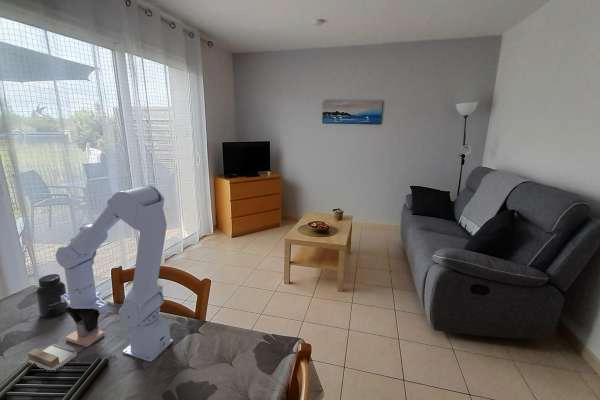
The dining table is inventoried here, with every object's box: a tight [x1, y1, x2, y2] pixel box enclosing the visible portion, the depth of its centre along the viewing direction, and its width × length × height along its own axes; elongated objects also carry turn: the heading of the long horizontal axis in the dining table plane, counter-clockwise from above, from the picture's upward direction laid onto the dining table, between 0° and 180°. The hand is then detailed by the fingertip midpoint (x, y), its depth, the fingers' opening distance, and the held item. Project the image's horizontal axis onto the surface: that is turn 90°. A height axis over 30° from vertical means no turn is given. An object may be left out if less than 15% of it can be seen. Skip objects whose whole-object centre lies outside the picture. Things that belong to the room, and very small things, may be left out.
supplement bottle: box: [35, 273, 69, 319], centre depth 85 cm, size 7×7×12 cm
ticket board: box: [27, 343, 77, 370], centre depth 69 cm, size 8×6×3 cm
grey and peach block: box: [65, 319, 105, 348], centre depth 76 cm, size 8×5×5 cm
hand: (87, 328), depth 77 cm, fingers closed on grey and peach block, 2 cm apart
